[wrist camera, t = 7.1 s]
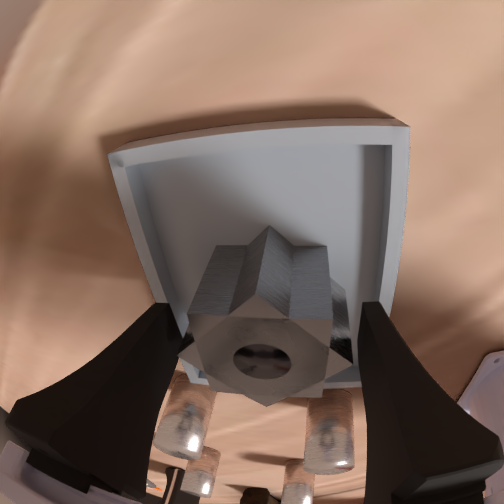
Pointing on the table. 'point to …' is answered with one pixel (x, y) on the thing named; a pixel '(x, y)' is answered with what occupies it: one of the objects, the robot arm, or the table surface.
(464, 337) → the table surface
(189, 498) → the battery charger
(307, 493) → the cylinder
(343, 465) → the cylinder
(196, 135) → the tray
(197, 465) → the cylinder
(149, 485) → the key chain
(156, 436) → the cylinder
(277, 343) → the nut
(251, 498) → the dark brown bar
